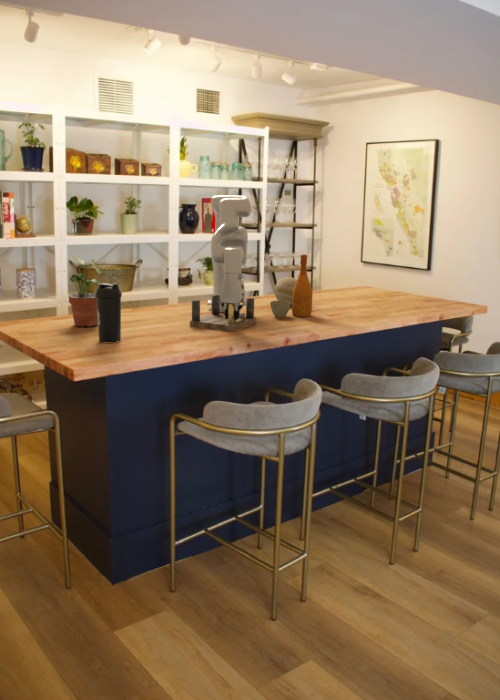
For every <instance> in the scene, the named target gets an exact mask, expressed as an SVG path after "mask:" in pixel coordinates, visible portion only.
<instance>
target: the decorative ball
mask: <svg viewBox="0 0 500 700" xmlns="http://www.w3.org/2000/svg"><path fill="white" fill-rule="evenodd" d="M296 281H297V279H296V278H294V277H291V276H286V277H282V278H281V279H279V280H278V281H277V282H276V284H275V287H274V292H273V293H274V296H275V298H276V301H288V302H291V305H290V306H292V293H293V289H294V286H295V283H296Z"/></svg>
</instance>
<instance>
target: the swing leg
mask: <svg viewBox="0 0 500 700" xmlns="http://www.w3.org/2000/svg"><path fill="white" fill-rule="evenodd" d="M234 311H235V304H233V303H228V324H229V325H235V324H236V323H238V322H241V321H244V320H245V317H246V312H245V313H244V312H239V319H237V320H234Z"/></svg>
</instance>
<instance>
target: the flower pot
mask: <svg viewBox="0 0 500 700" xmlns="http://www.w3.org/2000/svg"><path fill="white" fill-rule="evenodd" d="M291 306H292V305H291V302H288V301H278V300H272V301H270V309H271V312H272V314H273V316H274V317H275V318H286V316H287V315H288V313H289V311H290V308H291Z"/></svg>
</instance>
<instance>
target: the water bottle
mask: <svg viewBox="0 0 500 700" xmlns="http://www.w3.org/2000/svg"><path fill="white" fill-rule="evenodd" d="M119 285H120V284H119V283H117V282H115V283H113V284H112V283H106V282H99V283H98V285H97V286H98V287H97V288H96V290H95V291H94V293H95V297H96V302H97V319H98V324H97V329H98V330H97V331H98V341H100V343H102V342H116V343H118V342H117V341H120V340H121V339H122V335H121V333H122V332H121V331H122V327H121V325H122V320H121V319H122V318H121V317H122V314H121V313H122V312H121V311H122V309H121V308H122V305H121V303H122V293H123V292H122V291H121V289H120V287H119ZM120 342H121V341H120Z"/></svg>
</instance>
